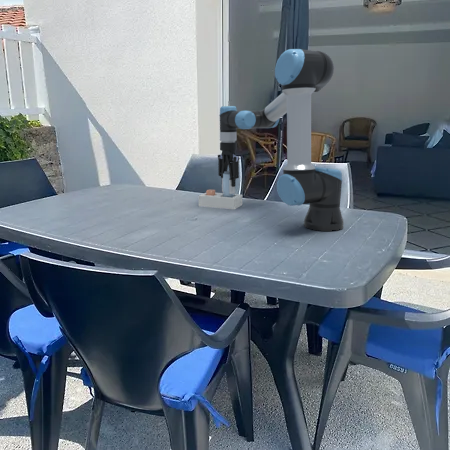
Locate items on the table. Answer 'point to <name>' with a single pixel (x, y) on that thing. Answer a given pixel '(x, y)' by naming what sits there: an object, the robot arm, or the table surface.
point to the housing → (220, 201)
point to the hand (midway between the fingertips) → (228, 192)
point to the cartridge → (226, 184)
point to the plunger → (210, 192)
